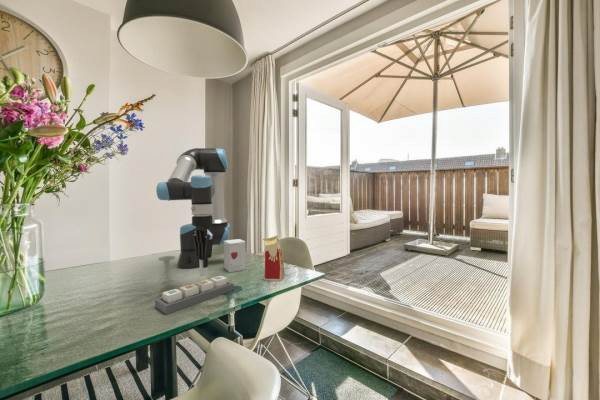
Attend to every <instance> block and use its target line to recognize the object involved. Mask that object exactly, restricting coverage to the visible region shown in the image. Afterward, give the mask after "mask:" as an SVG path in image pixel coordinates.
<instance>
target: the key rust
mask: <svg viewBox="0 0 600 400" xmlns="http://www.w3.org/2000/svg"><path fill="white" fill-rule="evenodd" d="M179 290H180V291H182V296H184V297H186V298H187V297H190V296H193V295H196V294H199V290H198V286H196V284H193V283H191V284H186V285H183V286H181V287H179Z"/></svg>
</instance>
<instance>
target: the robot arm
mask: <svg viewBox="0 0 600 400" xmlns="http://www.w3.org/2000/svg"><path fill="white" fill-rule="evenodd" d="M226 153H227V152H226V151H225V149H224V148H216V147H211V148H210V147H207V148H205V147H204V148H203V147H202V148H201V147H200V148H199V147H197V148H196V147H195V148H191V149H188V150H186V151H185V152H183V153H181V154H180V155H179V156H178V157H177V159H176V166H175V167H174V169H173V171H172V172H171V174H170V176H169V178H168V180H166V181H163V182H158V183H157V185H156V197H157V198H158V200H160V201H188V200H189V201H190V203H191V207H190V210H191V215H192V217H191V223H187V224H183V225H181V226H180V227H179V244H180V245H179V246H180V253H179V257H178V260H177V268H179V269H185V270H186V269H194V268H195V269H196V268H199V276H200V277H206V276H208V275H209V259H210V258H212V254H213V246H218V245H219V246H222V245H224V241H226V240H230V238H229V237H230V231H231V224H230V223H228V220H227V219H226V218H225V197H224V196H225V194H224V192H225V191H224V175H225V174H227V173H226V171H228V170H229V164H228V162H229V161H228V158H227V154H226ZM196 170H200V171H202V170H203V174H204V175H203V174H201V175H199V174H198V175H197V174H196V175H192V173H193V172H194V171H196ZM189 179H190V181H189Z"/></svg>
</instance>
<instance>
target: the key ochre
mask: <svg viewBox="0 0 600 400" xmlns="http://www.w3.org/2000/svg"><path fill="white" fill-rule="evenodd" d="M195 285H196V286H198V290H199V291H200V292H205V291H208V290H211V289H213V282H212V281H210V279H205V280H201V281H198V282H195Z"/></svg>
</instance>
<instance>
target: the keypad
mask: <svg viewBox="0 0 600 400" xmlns="http://www.w3.org/2000/svg"><path fill="white" fill-rule="evenodd" d="M232 290H233V291H235V284H234V282H231V281H229V280H227V284H226V285H223V286H220V287H217V288H216V287H214V286H213V289H211V290H208V291H205V292H200V291H199V294H196V295H193V296H190V297H187V298H186V297H184V296H182V299H181V300H177V301H174V302H171V303H167V302H165V301H164V300H163V296H161V297H158V298H156V299H154V307H155V308H156V309H157V310H158V311H160V312H162V313H163V314H164V315H168V314H169V315H170V314H171V313H174V312H177V311H180V310H183V309H185V308H188V307H192V306H194V305H197V304H201V303H202V302H205V301H207V300H211V299H213V298H216V297H219V296H222V295H224V293H225V294H227V292H228V293H230V292H233V291H232ZM229 291H230V292H229Z"/></svg>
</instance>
